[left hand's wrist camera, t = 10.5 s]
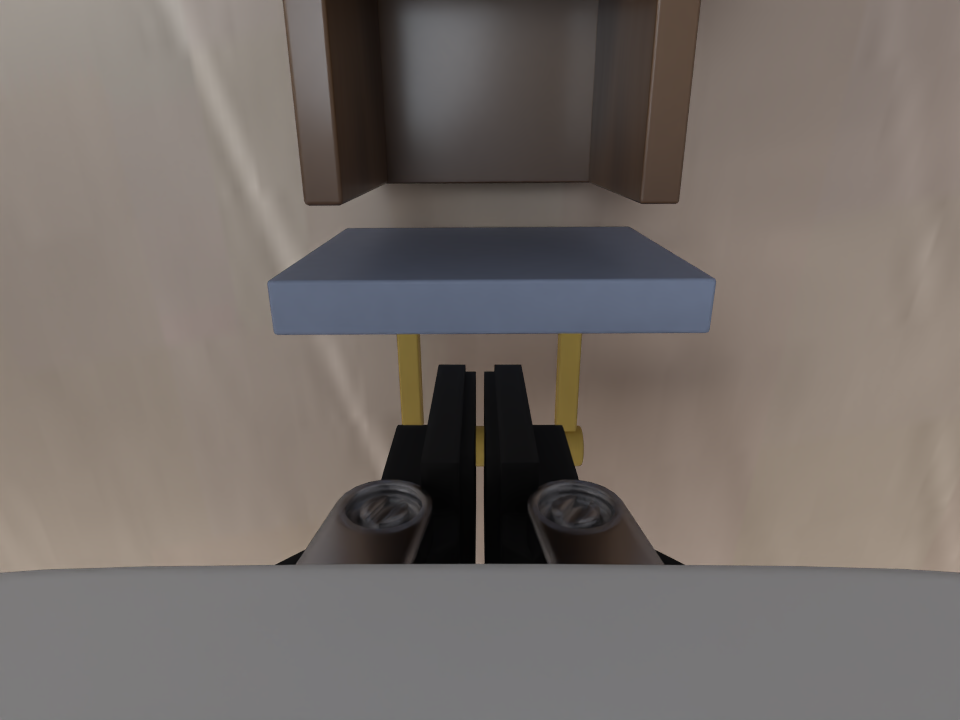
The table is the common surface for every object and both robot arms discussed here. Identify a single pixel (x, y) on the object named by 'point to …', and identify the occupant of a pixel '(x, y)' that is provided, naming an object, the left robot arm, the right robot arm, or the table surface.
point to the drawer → (491, 171)
